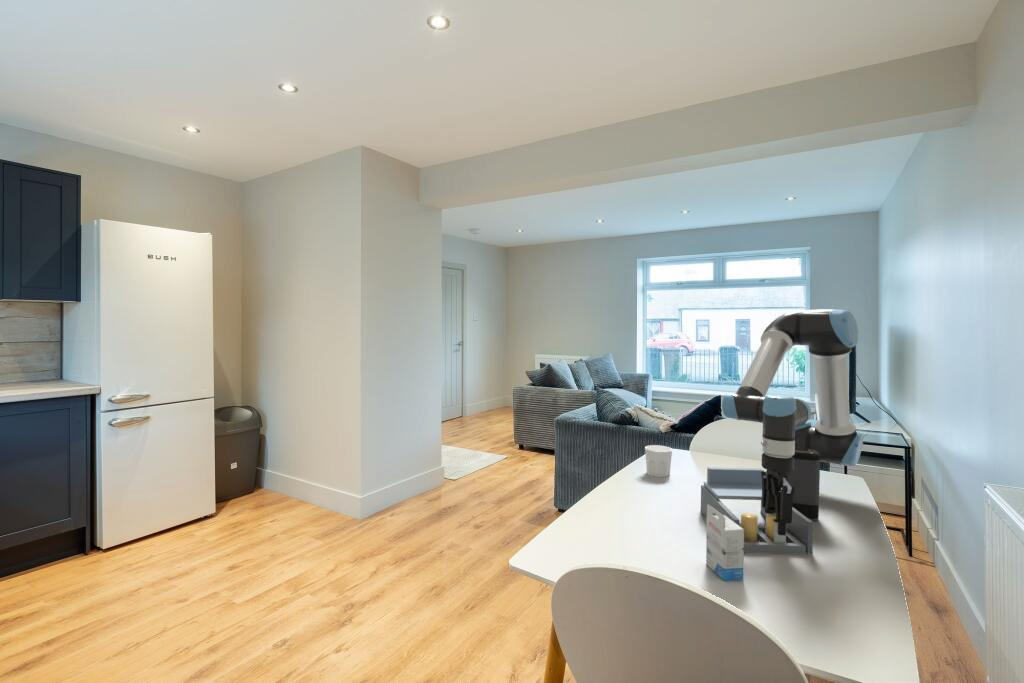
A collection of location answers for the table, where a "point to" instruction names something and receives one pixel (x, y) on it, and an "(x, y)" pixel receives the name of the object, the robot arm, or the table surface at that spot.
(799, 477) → the electronic device
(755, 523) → the peg
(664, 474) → the cup
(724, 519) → the ink box
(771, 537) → the cylinder
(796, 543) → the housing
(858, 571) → the table surface
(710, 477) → the lid
